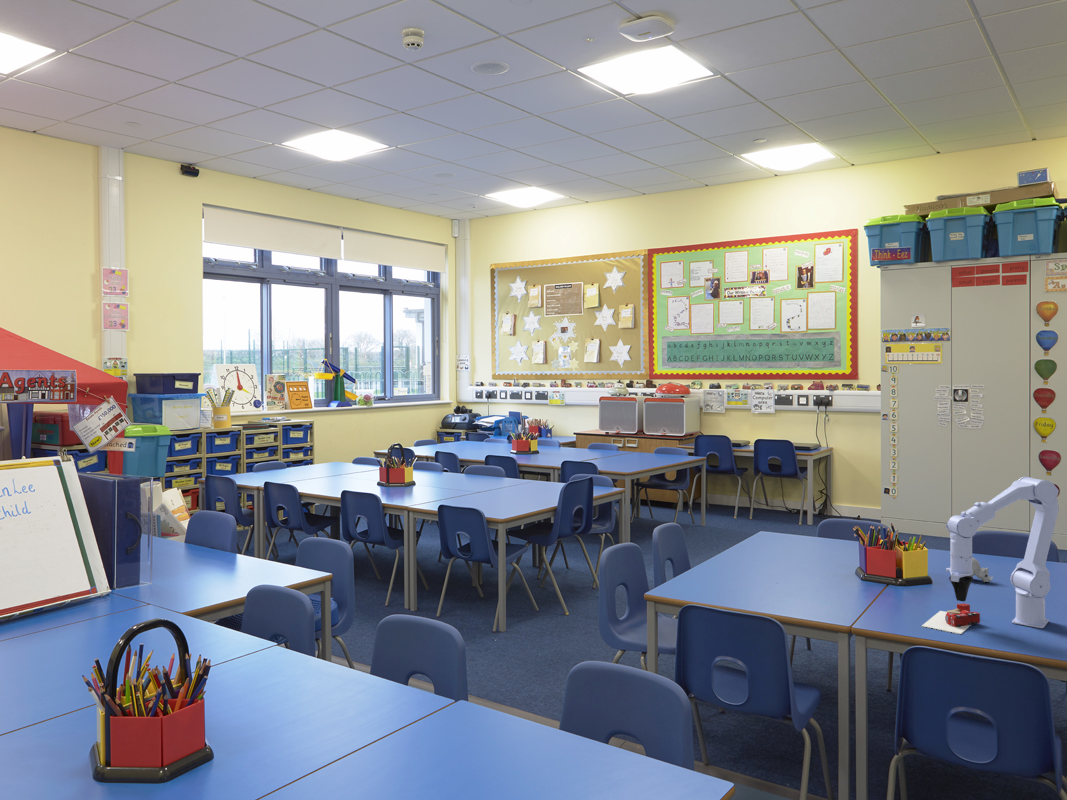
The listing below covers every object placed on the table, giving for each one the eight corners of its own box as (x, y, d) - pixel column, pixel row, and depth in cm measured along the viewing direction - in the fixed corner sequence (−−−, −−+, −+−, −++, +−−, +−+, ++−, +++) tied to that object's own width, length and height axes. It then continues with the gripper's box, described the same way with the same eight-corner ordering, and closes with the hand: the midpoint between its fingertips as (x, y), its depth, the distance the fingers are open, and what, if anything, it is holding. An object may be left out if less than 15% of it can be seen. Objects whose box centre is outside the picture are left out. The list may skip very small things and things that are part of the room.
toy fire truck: (955, 628, 223) (929, 618, 232) (990, 622, 227) (964, 613, 236) (954, 616, 223) (929, 607, 232) (990, 611, 227) (963, 602, 236)
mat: (940, 611, 239) (940, 610, 239) (977, 618, 231) (977, 617, 231) (921, 626, 225) (921, 625, 225) (960, 634, 218) (960, 633, 218)
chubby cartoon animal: (983, 592, 268) (993, 572, 265) (949, 573, 276) (958, 554, 273) (989, 587, 273) (999, 568, 270) (956, 570, 281) (966, 550, 278)
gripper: (953, 549, 234) (953, 592, 234) (939, 558, 223) (939, 603, 223) (978, 553, 229) (978, 597, 229) (966, 562, 218) (966, 608, 219)
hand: (961, 600), depth 226 cm, fingers closed
